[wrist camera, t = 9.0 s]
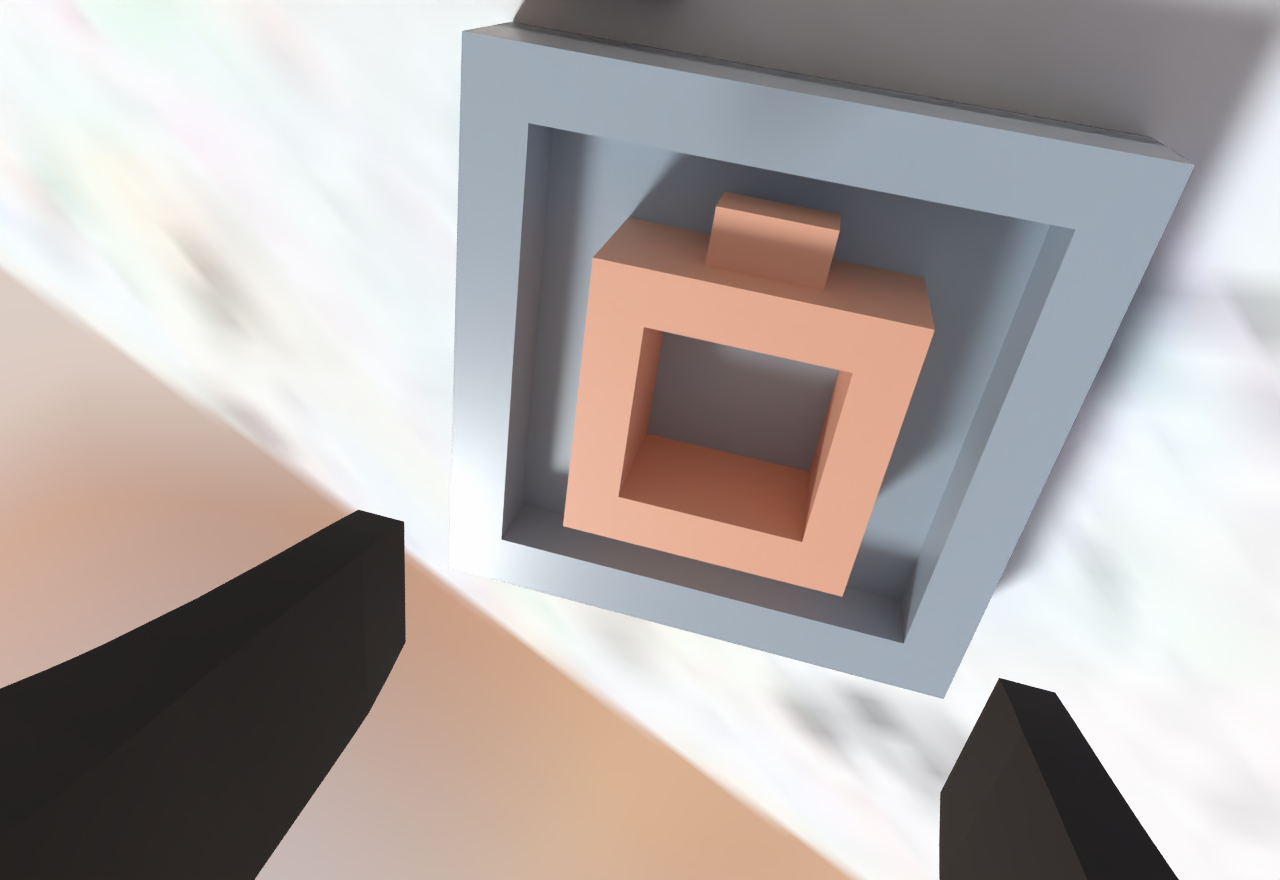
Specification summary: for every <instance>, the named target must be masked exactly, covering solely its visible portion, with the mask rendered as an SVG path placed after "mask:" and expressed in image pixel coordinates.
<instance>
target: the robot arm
mask: <svg viewBox="0 0 1280 880" xmlns="http://www.w3.org/2000/svg"><path fill="white" fill-rule="evenodd" d="M404 644H405V560H404V522H403V521H399V520H395V519H392V518H388V517H384V516H380V515H376V514H372V513H369V512H365V511H361V510H357V511H355V512H354V513H352V514H350V515H348V516H346V517H344V518H342V519H341V520H339V521H337V522H335V523H333V524H331V525H329V526H328V527H326V528H324V529H322V530H320V531H319V532H317V533H315V534H313V535H312V536H310V537H308V538H306V539H304V540H302V541H301V542H299V543H297V544H296V545H294V546H292V547H290V548H288V549H287V550H285V551H283V552H281V553H280V554H278V555H276V556H274V557H272V558H270V559H269V560H267V561H265V562H263V563H261V564H260V565H258V566H256V567H254V568H252V569H250V570H248V571H247V572H245V573H243V574H241V575H239V576H237V577H236V578H234V579H232V580H230V581H228V582H226V583H225V584H223V585H221V586H219V587H217V588H215V589H213V590H212V591H210V592H208V593H206V594H204V595H202V596H200V597H199V598H197V599H195V600H193V601H191V602H189V603H187V604H185V605H183V606H181V607H179V608H177V609H175V610H172V611H170V612H168V613H166V614H164V615H162V616H160V617H158V618H156V619H154V620H152V621H150V622H148V623H146V624H144V625H142V626H140V627H138V628H136V629H134V630H132V631H130V632H128V633H126V634H124V635H122V636H120V637H118V638H116V639H114V640H112V641H110V642H108V643H106V644H104V645H101V646H99V647H97V648H95V649H93V650H90V651H88V652H86V653H84V654H81V655H79V656H77V657H75V658H72V659H70V660H68V661H66V662H63V663H61V664H59V665H56V666H54V667H52V668H50V669H47V670H45V671H42V672H40V673H38V674H35V675H33V676H30V677H28V678H25V679H23V680H20V681H18V682H16V683H13V684H11V685H8V686H6V687H3V688H1V689H0V880H255V878H256V877H257V875H258V874H259V872H260V871H261V869H262V868H263V866H264V865H265V863H266V862H267V860H268V859H269V857H270V856H271V855H272V853H273V852H274V850H275V849H276V847H277V846H278V845H279V843H280V842H281V840H282V839H283V837H284V836H285V834H286V833H287V832H288V830H289V829H290V827H291V826H292V824H293V823H294V821H295V820H296V819H297V817H298V816H299V814H300V813H301V811H302V810H303V808H304V807H305V806H306V804H307V803H308V801H309V800H310V798H311V797H312V795H313V794H314V792H315V791H316V789H317V788H318V787H319V785H320V784H321V782H322V781H323V780H324V778H325V777H326V775H327V774H328V772H329V771H330V769H331V768H332V766H333V765H334V764H335V762H336V761H337V759H338V758H339V756H340V754H341V753H342V752H343V750H344V749H345V747H346V746H347V744H348V743H349V742H350V740H351V738H352V737H353V736H354V734H355V733H356V731H357V730H358V728H359V727H360V725H361V724H362V722H363V721H364V719H365V717H366V716H367V715H368V713H369V711H370V709H371V708H372V706H373V704H374V702H375V700H376V698H377V696H378V694H379V692H380V691H381V689H382V687H383V685H384V683H385V682H386V680H387V678H388V676H389V674H390V672H391V670H392V668H393V666H394V664H395V662H396V660H397V658H398V656H399V654H400V651H401V650H402V648H403V646H404ZM939 870H940V880H1179V879H1178V878H1177V877H1176V875H1175V874H1174V872H1173V871H1172V869H1171V868H1170V866H1169V865H1168V864H1167V862H1166V861H1165V859H1164V858H1163V856H1162V855H1161V853H1160V852H1159V850H1158V849H1157V847H1156V846H1155V844H1154V843H1153V842H1152V840H1151V839H1150V837H1149V836H1148V834H1147V833H1146V831H1145V830H1144V828H1143V827H1142V825H1141V824H1140V822H1139V821H1138V819H1137V818H1136V816H1135V815H1134V813H1133V812H1132V810H1131V809H1130V807H1129V806H1128V804H1127V802H1126V801H1125V799H1124V798H1123V796H1122V795H1121V793H1120V792H1119V790H1118V789H1117V787H1116V786H1115V784H1114V783H1113V781H1112V779H1111V778H1110V776H1109V775H1108V773H1107V772H1106V770H1105V769H1104V767H1103V766H1102V764H1101V762H1100V761H1099V759H1098V758H1097V756H1096V755H1095V753H1094V752H1093V750H1092V748H1091V747H1090V745H1089V744H1088V742H1087V741H1086V739H1085V738H1084V736H1083V734H1082V733H1081V731H1080V730H1079V728H1078V727H1077V725H1076V724H1075V722H1074V721H1073V719H1072V717H1071V716H1070V714H1069V713H1068V711H1067V710H1066V708H1065V707H1064V705H1063V704H1062V702H1061V701H1060V699H1059V698H1058V696H1057V695H1056V693H1054V692H1051V691H1047V690H1043V689H1039V688H1035V687H1031V686H1028V685H1024V684H1020V683H1016V682H1012V681H1009V680H1005V679H1001V678H999V680H998V681H997V683H996V685H995V687H994V689H993V691H992V693H991V695H990V697H989V699H988V701H987V703H986V705H985V707H984V709H983V711H982V713H981V715H980V717H979V719H978V720H977V722H976V724H975V726H974V728H973V730H972V732H971V734H970V736H969V738H968V740H967V742H966V744H965V746H964V748H963V750H962V752H961V754H960V756H959V757H958V759H957V761H956V763H955V765H954V767H953V769H952V771H951V773H950V775H949V777H948V779H947V781H946V783H945V785H944V787H943V789H942V791H941V794H940V839H939Z"/></svg>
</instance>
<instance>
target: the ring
mask: <svg viewBox="0 0 1280 880" xmlns="http://www.w3.org/2000/svg"><path fill="white" fill-rule="evenodd" d="M840 220H841V214H836V213H831V212H826V211H821V210H816V209H811V208H806V207H801V206H795V205H790V204H785V203H780V202H775V201H770V200H765V199H760V198H755V197H750V196H745V195H740V194H735V193H730V192H724V193H723V195H722V197H721V198H720V200H719V202H718V204H717V205H716V209H715V215H714V220H713V225H712V231H711V234H708V233H703V232H698V231H693V230H688V229H684V228H679V227H674V226H669V225H664V224H659V223H654V222H649V221H644V220H640V219H635V218H630V217H628V219H627V220H626V221H625V222H624V223H623V224H622V225H621V226H620V227H619V229H618V230H617V231H616V232H615V233H614V234H613V235H612V236H611V238H610V239H609V240H608V241H607V242H606V243H605V244H604V245H603V247H602V248H601V249H600V250H599V251H598V252H597V253H596V254H595V256H594V257H593V259H592V268H591V277H590V286H589V295H588V304H587V313H586V322H585V331H584V341H583V350H582V359H581V368H580V377H579V386H578V395H577V404H576V413H575V422H574V431H573V440H572V449H571V458H570V467H569V476H568V485H567V494H566V503H565V512H564V521H563V526H565V527H569V528H573V529H577V530H580V531H584V532H588V533H592V534H596V535H600V536H604V537H608V538H612V539H616V540H620V541H624V542H628V543H632V544H636V545H640V546H644V547H648V548H652V549H656V550H660V551H664V552H667V553H671V554H675V555H679V556H683V557H687V558H691V559H695V560H699V561H703V562H707V563H711V564H715V565H719V566H723V567H727V568H731V569H735V570H739V571H743V572H747V573H751V574H754V575H758V576H762V577H766V578H770V579H774V580H778V581H782V582H786V583H790V584H794V585H798V586H802V587H806V588H810V589H814V590H818V591H822V592H826V593H830V594H834V595H838V596H841V597H842V596H843V593H844V590H845V588H846V585H847V582H848V579H849V576H850V573H851V570H852V567H853V564H854V562H855V559H856V556H857V553H858V550H859V547H860V544H861V541H862V539H863V536H864V533H865V530H866V527H867V524H868V521H869V518H870V515H871V513H872V510H873V507H874V504H875V501H876V498H877V495H878V492H879V489H880V487H881V484H882V481H883V478H884V475H885V472H886V469H887V466H888V464H889V461H890V458H891V455H892V452H893V449H894V446H895V443H896V440H897V438H898V435H899V432H900V429H901V426H902V423H903V420H904V417H905V414H906V412H907V409H908V406H909V403H910V400H911V397H912V394H913V391H914V389H915V386H916V383H917V380H918V377H919V374H920V371H921V368H922V365H923V363H924V360H925V357H926V354H927V351H928V348H929V345H930V342H931V339H932V337H933V334H934V331H935V328H934V323H933V318H932V313H931V308H930V303H929V298H928V293H927V288H926V283H925V278H924V277H919V276H914V275H909V274H904V273H899V272H894V271H889V270H884V269H879V268H875V267H870V266H865V265H860V264H855V263H850V262H845V261H840V260H835V259H832V258H833V254H834V250H835V247H836V243H837V239H838V235H839V231H840ZM663 332H669V333H673V334H678V335H682V336H687V337H691V338H696V339H700V340H705V341H709V342H714V343H719V344H723V345H728V346H732V347H737V348H741V349H746V350H750V351H755V352H759V353H764V354H768V355H773V356H778V357H782V358H787V359H791V360H796V361H800V362H805V363H809V364H814V365H818V366H823V367H828V368H832V369H837V370H839V371H838V374H837V378H836V381H835V385H834V388H833V391H832V395H831V398H830V402H829V405H828V409H827V412H826V416H825V419H824V423H823V426H822V429H821V433H820V436H819V440H818V443H817V447H816V450H815V454H814V457H813V460H812V464H811V467H810V471H809V472H808V471H804V470H800V469H796V468H791V467H787V466H783V465H779V464H774V463H770V462H766V461H762V460H757V459H753V458H749V457H745V456H740V455H736V454H732V453H728V452H724V451H719V450H715V449H711V448H707V447H702V446H698V445H694V444H690V443H685V442H681V441H677V440H673V439H668V438H664V437H660V436H656V435H651V434H647V429H648V423H649V417H650V411H651V405H652V399H653V393H654V387H655V380H656V374H657V368H658V362H659V356H660V350H661V344H662V338H663Z"/></svg>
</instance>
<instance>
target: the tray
mask: <svg viewBox="0 0 1280 880" xmlns="http://www.w3.org/2000/svg"><path fill="white" fill-rule="evenodd" d="M1194 167H1195V164H1193V163H1191V162H1190V161H1188V160H1187V159H1185V158H1183V157H1182V156H1180V155H1178V154H1177V153H1175V152H1174V151H1172V150H1170V149H1169V148H1167V147H1166V146H1164V145H1162V144H1161V143H1159V142H1158V141H1156V140H1154V139H1153V138H1151V137H1147V136H1141V135H1135V134H1130V133H1124V132H1119V131H1113V130H1108V129H1102V128H1097V127H1091V126H1085V125H1080V124H1074V123H1069V122H1063V121H1058V120H1052V119H1046V118H1041V117H1035V116H1030V115H1024V114H1019V113H1013V112H1008V111H1002V110H996V109H991V108H985V107H980V106H974V105H969V104H963V103H958V102H952V101H946V100H941V99H935V98H930V97H924V96H919V95H913V94H908V93H902V92H896V91H891V90H885V89H880V88H874V87H869V86H863V85H858V84H852V83H846V82H841V81H835V80H830V79H824V78H819V77H813V76H807V75H802V74H796V73H791V72H785V71H780V70H774V69H769V68H763V67H757V66H752V65H746V64H741V63H735V62H730V61H724V60H719V59H713V58H707V57H702V56H696V55H691V54H685V53H680V52H674V51H669V50H663V49H657V48H652V47H646V46H641V45H635V44H630V43H624V42H619V41H613V40H607V39H602V38H596V37H591V36H585V35H580V34H574V33H568V32H563V31H557V30H552V29H546V28H541V27H535V26H530V25H524V24H518V23H513V22H508V23H503V24H498V25H492V26H487V27H482V28H476V29H471V30H465V31H462V60H461V101H460V142H459V182H458V223H457V264H456V304H455V345H454V386H453V427H452V467H451V508H450V549H449V568H451V569H455V570H459V571H463V572H467V573H470V574H474V575H478V576H482V577H485V578H489V579H493V580H497V581H500V582H504V583H508V584H512V585H516V586H519V587H523V588H527V589H531V590H534V591H538V592H542V593H546V594H550V595H553V596H557V597H561V598H565V599H568V600H572V601H576V602H580V603H584V604H587V605H591V606H595V607H599V608H602V609H606V610H610V611H614V612H617V613H621V614H625V615H629V616H633V617H636V618H640V619H644V620H648V621H651V622H655V623H659V624H663V625H667V626H670V627H674V628H678V629H682V630H685V631H689V632H693V633H697V634H701V635H704V636H708V637H712V638H716V639H719V640H723V641H727V642H731V643H734V644H738V645H742V646H746V647H750V648H753V649H757V650H761V651H765V652H768V653H772V654H776V655H780V656H784V657H787V658H791V659H795V660H799V661H802V662H806V663H810V664H814V665H818V666H821V667H825V668H829V669H833V670H836V671H840V672H844V673H848V674H851V675H855V676H859V677H863V678H867V679H870V680H874V681H878V682H882V683H885V684H889V685H893V686H897V687H901V688H904V689H908V690H912V691H916V692H919V693H923V694H927V695H931V696H935V697H938V698H942V699H944V697H945V695H946V692H947V690H948V688H949V686H950V684H951V682H952V680H953V678H954V676H955V673H956V671H957V669H958V667H959V665H960V663H961V661H962V659H963V656H964V654H965V652H966V650H967V648H968V646H969V644H970V642H971V640H972V637H973V635H974V633H975V631H976V629H977V627H978V625H979V623H980V620H981V618H982V616H983V614H984V612H985V610H986V608H987V606H988V603H989V601H990V599H991V597H992V595H993V593H994V591H995V589H996V587H997V584H998V582H999V580H1000V578H1001V576H1002V574H1003V572H1004V570H1005V567H1006V565H1007V563H1008V561H1009V559H1010V557H1011V555H1012V553H1013V550H1014V548H1015V546H1016V544H1017V542H1018V540H1019V538H1020V536H1021V534H1022V531H1023V529H1024V527H1025V525H1026V523H1027V521H1028V519H1029V517H1030V514H1031V512H1032V510H1033V508H1034V506H1035V504H1036V502H1037V500H1038V497H1039V495H1040V493H1041V491H1042V489H1043V487H1044V485H1045V483H1046V481H1047V478H1048V476H1049V474H1050V472H1051V470H1052V468H1053V466H1054V464H1055V461H1056V459H1057V457H1058V455H1059V453H1060V451H1061V449H1062V447H1063V444H1064V442H1065V440H1066V438H1067V436H1068V434H1069V432H1070V430H1071V428H1072V425H1073V423H1074V421H1075V419H1076V417H1077V415H1078V413H1079V411H1080V408H1081V406H1082V404H1083V402H1084V400H1085V398H1086V396H1087V394H1088V391H1089V389H1090V387H1091V385H1092V383H1093V381H1094V379H1095V377H1096V375H1097V372H1098V370H1099V368H1100V366H1101V364H1102V362H1103V360H1104V358H1105V355H1106V353H1107V351H1108V349H1109V347H1110V345H1111V343H1112V341H1113V338H1114V336H1115V334H1116V332H1117V330H1118V328H1119V326H1120V324H1121V322H1122V319H1123V317H1124V315H1125V313H1126V311H1127V309H1128V307H1129V305H1130V302H1131V300H1132V298H1133V296H1134V294H1135V292H1136V290H1137V288H1138V285H1139V283H1140V281H1141V279H1142V277H1143V275H1144V273H1145V271H1146V269H1147V266H1148V264H1149V262H1150V260H1151V258H1152V256H1153V254H1154V252H1155V249H1156V247H1157V245H1158V243H1159V241H1160V239H1161V237H1162V235H1163V233H1164V230H1165V228H1166V226H1167V224H1168V222H1169V220H1170V218H1171V216H1172V213H1173V211H1174V209H1175V207H1176V205H1177V203H1178V201H1179V199H1180V196H1181V194H1182V192H1183V190H1184V188H1185V186H1186V184H1187V182H1188V180H1189V177H1190V175H1191V173H1192V171H1193V169H1194ZM724 192H730V193H735V194H740V195H745V196H750V197H755V198H760V199H765V200H770V201H775V202H780V203H785V204H790V205H795V206H801V207H806V208H811V209H816V210H821V211H826V212H831V213H836V214H841V220H840V231H839V235H838V239H837V243H836V247H835V250H834V254H833V258H832V259H835V260H840V261H845V262H850V263H855V264H860V265H865V266H870V267H875V268H879V269H884V270H889V271H894V272H899V273H904V274H909V275H914V276H919V277H924V278H925V283H926V288H927V293H928V298H929V303H930V308H931V313H932V318H933V323H934V328H935V331H934V334H933V337H932V339H931V342H930V345H929V348H928V351H927V354H926V357H925V360H924V363H923V365H922V368H921V371H920V374H919V377H918V380H917V383H916V386H915V389H914V391H913V394H912V397H911V400H910V403H909V406H908V409H907V412H906V414H905V417H904V420H903V423H902V426H901V429H900V432H899V435H898V438H897V440H896V443H895V446H894V449H893V452H892V455H891V458H890V461H889V464H888V466H887V469H886V472H885V475H884V478H883V481H882V484H881V487H880V489H879V492H878V495H877V498H876V501H875V504H874V507H873V510H872V513H871V515H870V518H869V521H868V524H867V527H866V530H865V533H864V536H863V539H862V541H861V544H860V547H859V550H858V553H857V556H856V559H855V562H854V564H853V567H852V570H851V573H850V576H849V579H848V582H847V585H846V588H845V590H844V593H843V596H842V597H841V596H838V595H834V594H830V593H826V592H822V591H818V590H814V589H810V588H806V587H802V586H798V585H794V584H790V583H786V582H782V581H778V580H774V579H770V578H766V577H762V576H758V575H754V574H751V573H747V572H743V571H739V570H735V569H731V568H727V567H723V566H719V565H715V564H711V563H707V562H703V561H699V560H695V559H691V558H687V557H683V556H679V555H675V554H671V553H667V552H664V551H660V550H656V549H652V548H648V547H644V546H640V545H636V544H632V543H628V542H624V541H620V540H616V539H612V538H608V537H604V536H600V535H596V534H592V533H588V532H584V531H580V530H577V529H573V528H569V527H565V526H563V521H564V512H565V503H566V494H567V485H568V476H569V467H570V458H571V449H572V440H573V431H574V422H575V413H576V404H577V395H578V386H579V377H580V368H581V359H582V350H583V341H584V331H585V322H586V313H587V304H588V295H589V286H590V277H591V268H592V259H593V257H594V256H595V254H596V253H597V252H598V251H599V250H600V249H601V248H602V247H603V245H604V244H605V243H606V242H607V241H608V240H609V239H610V238H611V236H612V235H613V234H614V233H615V232H616V231H617V230H618V229H619V227H620V226H621V225H622V224H623V223H624V222H625V221H626V220H627V219H628V217H630V218H635V219H640V220H644V221H649V222H654V223H659V224H664V225H669V226H674V227H679V228H684V229H688V230H693V231H698V232H703V233H708V234H711V231H712V225H713V220H714V215H715V209H716V205H717V204H718V202H719V200H720V198H721V197H722V195H723V193H724ZM838 371H839V370H837V369H832V368H828V367H823V366H818V365H814V364H809V363H805V362H800V361H796V360H791V359H787V358H782V357H778V356H773V355H768V354H764V353H759V352H755V351H750V350H746V349H741V348H737V347H732V346H728V345H723V344H719V343H714V342H709V341H705V340H700V339H696V338H691V337H687V336H682V335H678V334H673V333H669V332H663V338H662V344H661V350H660V356H659V362H658V368H657V374H656V380H655V387H654V393H653V399H652V405H651V411H650V417H649V423H648V429H647V434H651V435H656V436H660V437H664V438H668V439H673V440H677V441H681V442H685V443H690V444H694V445H698V446H702V447H707V448H711V449H715V450H719V451H724V452H728V453H732V454H736V455H740V456H745V457H749V458H753V459H757V460H762V461H766V462H770V463H774V464H779V465H783V466H787V467H791V468H796V469H800V470H804V471H808V472H809V471H810V467H811V464H812V460H813V457H814V454H815V450H816V447H817V443H818V440H819V436H820V433H821V429H822V426H823V423H824V419H825V416H826V412H827V409H828V405H829V402H830V398H831V395H832V391H833V388H834V385H835V381H836V378H837V374H838Z"/></svg>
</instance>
